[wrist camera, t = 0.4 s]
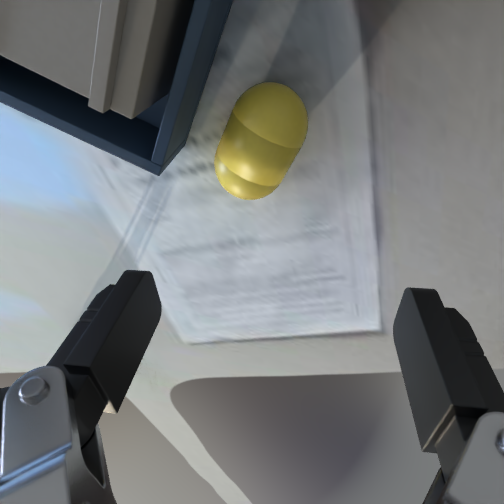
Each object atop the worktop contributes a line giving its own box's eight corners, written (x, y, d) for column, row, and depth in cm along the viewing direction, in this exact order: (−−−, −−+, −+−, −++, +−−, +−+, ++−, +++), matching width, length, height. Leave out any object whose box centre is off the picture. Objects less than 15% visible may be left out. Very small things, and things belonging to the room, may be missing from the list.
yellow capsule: (255, 60, 22) (243, 74, 18) (322, 97, 23) (325, 119, 19) (213, 163, 27) (196, 193, 23) (269, 191, 28) (263, 224, 24)
